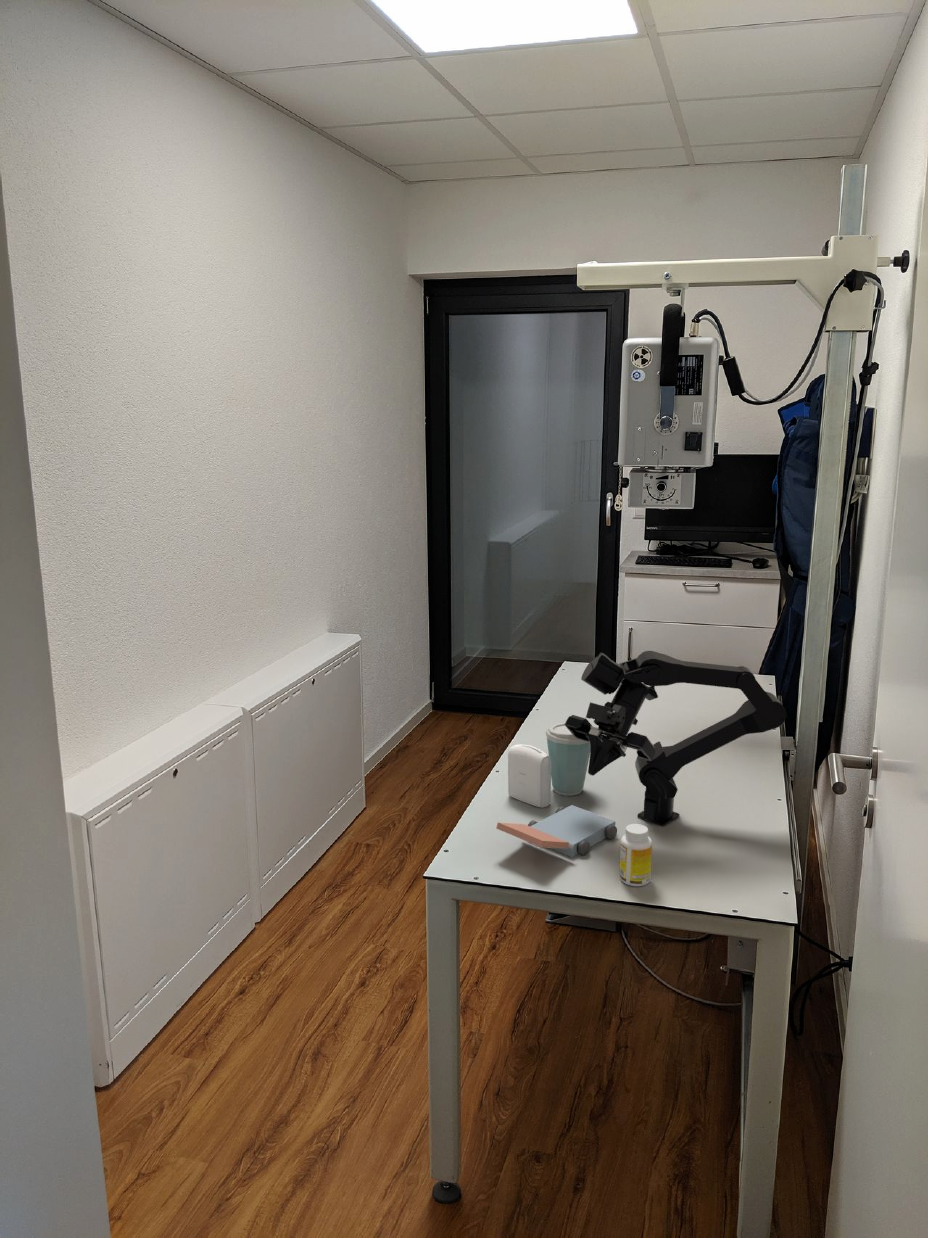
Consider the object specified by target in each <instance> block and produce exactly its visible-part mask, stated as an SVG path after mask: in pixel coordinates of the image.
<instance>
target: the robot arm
mask: <svg viewBox="0 0 928 1238" xmlns="http://www.w3.org/2000/svg"><path fill="white" fill-rule="evenodd" d="M580 679H581V681H582V682H584V683H586V684H587V685H589V686H591V688H593V689H595V690H596V691H598V692H599V693H600V694H601V693H602V694H603V695H604V696H606V695H612V694H614V693H615V692H616V693H615V694H614V696H613V698H612V700H611V701H606V702H605V703H604V705H603V704H597V703H593V702H592V701H591V702H589V705H588V709H587V711H586V716H585V717H582V716H578V715H575V714H572V715H569V716H568V717H567V719H566V720H565V722H564V723H565V724H564V725H565V726H566V727H567V729H568V730H569V731H570V732H571V733H572V734H573V735H574V737H576V738H578V739H581V740H584V741H587V742H588V741H590V756H589V761H588V767H587V773H588V774H589V775H590V776H591V777H592V776H595V775H597V774H598V773H600V771H602V770H603V769H604V768H606V767H607V766H608V765H610V764H611V763H613V762H615V761H616V760H618V759H620V758H621V757H623V758H625V757H626V756H627V753H626V751H627V749H628V748H629V749H633V750H636V754H637V756H636V759H635V762H634V763H635V764H634V765H635V766H634V767H635V770H636V773H637V775H638V776H637V777H638V780H639V782H640V783H641V784H642V786H644V787H645V791H644V800H643V810H641V812H638V813H637V817H638V818H639V819H642V820H645V821H648V822H651V823H653V824H656V825H659V826H666V825H667V824H670V823H671V822H672V821H674V820H675V819H678V818H679V817H680V813H679V812H676V811H674V803H675V802H674V801H675V800H674V799H675V796H676V794H677V793H678V790H679V789H678V786H677V784H676V781H675V779H674V777H676V775H677V774H678V773H679V772H680V771H681V769H682V768H683V767H684V766H686V765H688V764H690V763H692V762H695V761H696V760H698V759H700V758H702V757H704V756H706V755H708V754H710V753H712V752H714V751H716V750H718V749H720V748H722V747H724V746H726V745H728V744H730V743H732V742H734V741H736V740H737V739H740V738H741V737H744V736H746V735H750V734H751V735H752V734H762V733H765V732H768V731H769V732H770V731H771V730H775V729H778V728H780V727H781V726H782V725H784V723H785V722H786V718H787V710H786V707H785V706H784V705H783V704H782V702H781V701H780V699H778V697H777V696H776V695H775V694H774V693H772V692H769V691H765V690H764V688H763V686H761V685H760V683H759V682H758V680H757V679H756V676H755V675H754V673H753V672H752V671H751V670H750V669H749V668H748V667H747V666H744V665H741V666H732V665H724V664H716V663H715V664H714V663H706V662H705V663H704V662H695V661H686V660H685V661H684V660H680V659H678V658H675V657H672V656H670V655H668V654H665V653H660V652H658V651H653V650H645V651H643V652H641V653H640V654H639V655H638V656H637V657H636V658H632V659H629V660H627V661H623V662H620V663H619V664H618V663H617V662H615V661H614V660H612V659H611V658H610V657H609V656H608V655H606V654H605V653H603V652H600V653H599V654H598V655H597V656H596V657H594V658H593V659H592V660H591V661H589V663H588V664H587V666H586V667H585V669H584V671H583V672H582V675H581V677H580ZM675 684H691V685H701V686H711V687H718V688H730V689H735V690H736V689H737V690H740V691H741V692H742V693H743V695H744V696H745V697H746V698H747V700H745V701H744V702H743V703H742V704H741V705H740V707H739V708H738V709H737V710H736V712H734V713H733V714H731V715H730V716H728V717H725V718H724V719H722V720H720V721H718V722H715V723H713V724H712V725H710V726H708V727H706V728H704V729H702V730H700V731H699V732H697V733H695V734H692V735H691V736H689V737H687V738H685V739H683V740H681V741H679V742H677V743H676V744H673V745H668V746H663V745H662V743H661V741H657V742H655V743H654V744H653V743H652V742H651V740H650V739H649V738H648V736H647V735H643V734H639V733H636V732H633V731H631V732H630V730H631V728H632V726H633V725H634V726H636V725H637V724H638V722H639V721H638V719H637V716H638V714H639V712H640V710H641V708H642V706H643V704H644V702H645V700H648V701H649V702H650V701H653V700H656V699H658V698H659V695H658V693H657V691H656V689H655V687H663V686H664V687H666V686H671V685H675ZM588 719H589V720H591V719H593V723H594V724H595V725H596V726H598V727H596V726H593V725H592V724H591V722H590V721H589V720H588Z"/></svg>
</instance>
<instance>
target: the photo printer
mask: <svg viewBox="0 0 928 1238" xmlns="http://www.w3.org/2000/svg"><path fill="white" fill-rule="evenodd" d="M507 763H508V764H507V777H508V778H507V780H508V782H507V785H508V786H507V787H508V789H507V790H508V791H507V792H508V793H507V794H508V796H509V797H511V798H513V799H515V800H518V801H521V802H524V803H526V804H528V805H532V806H535V807H537V808H546V807H548V806H550V803H551V802H552V801H551V800H552V779H551V759H550V757H549V754H547V753H546V752H544V751H543V750H542V749H539V748H538V747H535V746H533V745H530V744H522V743H521V744H514V745H512V746H510V748H509V750H508V754H507Z"/></svg>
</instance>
